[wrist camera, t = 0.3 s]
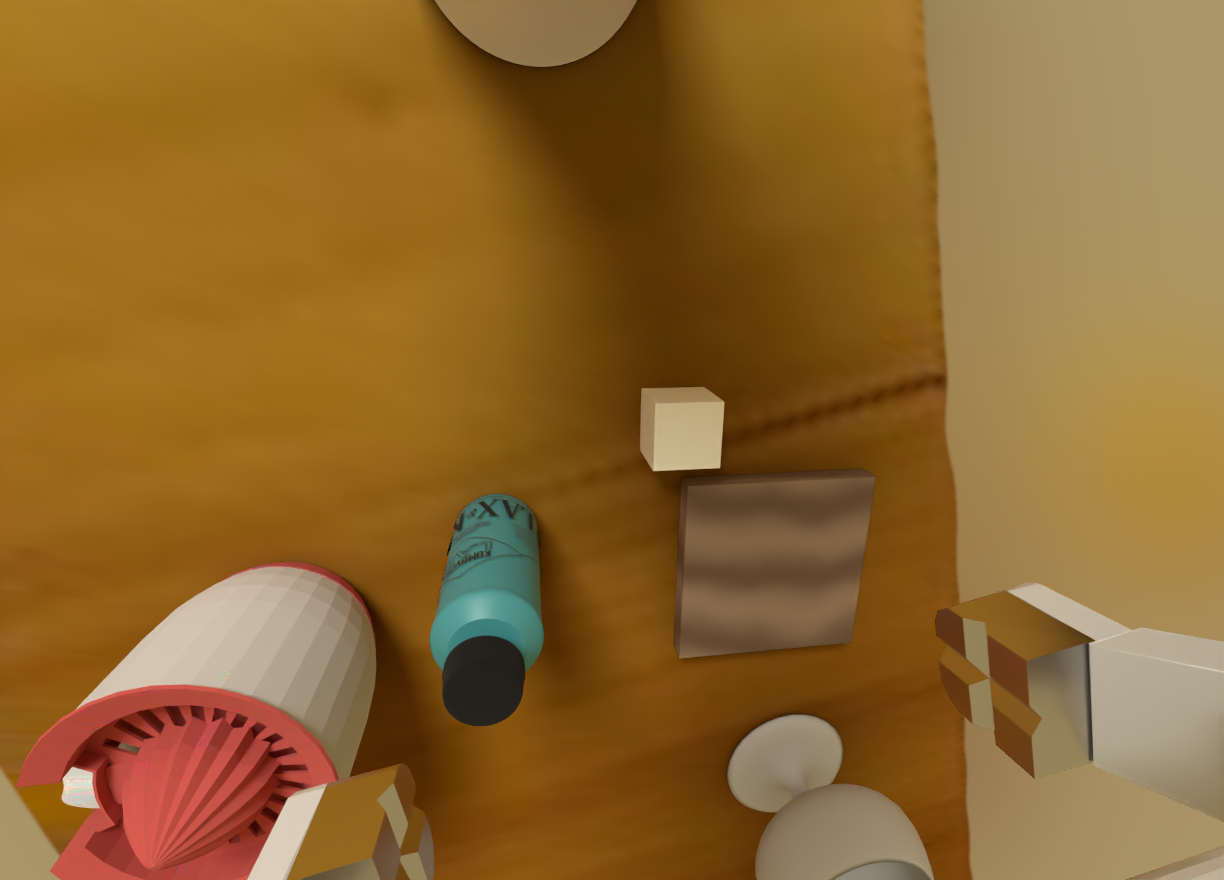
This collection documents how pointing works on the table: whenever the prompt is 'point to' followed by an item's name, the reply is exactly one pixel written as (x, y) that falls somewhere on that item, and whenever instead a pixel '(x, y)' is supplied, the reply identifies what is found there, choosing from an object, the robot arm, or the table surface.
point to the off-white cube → (681, 428)
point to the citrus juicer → (214, 727)
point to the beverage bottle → (489, 610)
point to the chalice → (819, 809)
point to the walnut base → (769, 560)
